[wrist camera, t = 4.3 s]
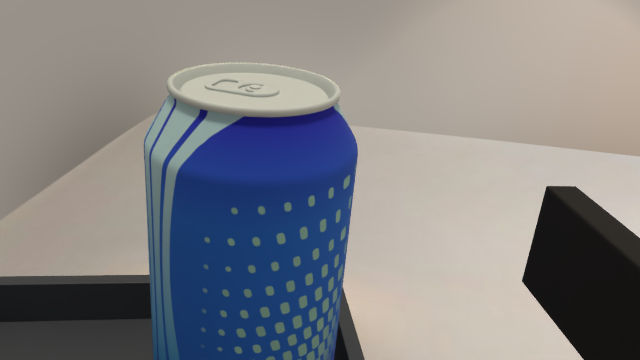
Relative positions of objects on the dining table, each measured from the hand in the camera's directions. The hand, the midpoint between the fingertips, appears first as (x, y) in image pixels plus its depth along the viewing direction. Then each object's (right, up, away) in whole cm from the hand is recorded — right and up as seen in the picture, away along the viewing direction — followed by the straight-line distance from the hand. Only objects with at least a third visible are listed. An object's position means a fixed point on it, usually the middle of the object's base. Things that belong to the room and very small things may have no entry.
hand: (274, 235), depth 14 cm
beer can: (-3, -10, +16) cm, 19 cm away
